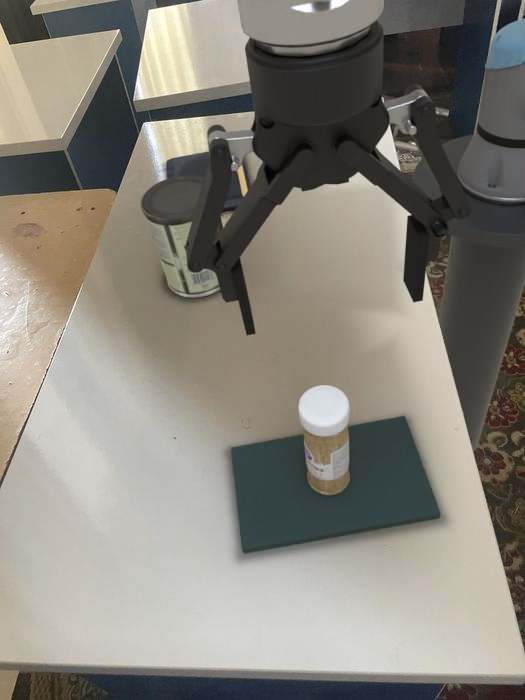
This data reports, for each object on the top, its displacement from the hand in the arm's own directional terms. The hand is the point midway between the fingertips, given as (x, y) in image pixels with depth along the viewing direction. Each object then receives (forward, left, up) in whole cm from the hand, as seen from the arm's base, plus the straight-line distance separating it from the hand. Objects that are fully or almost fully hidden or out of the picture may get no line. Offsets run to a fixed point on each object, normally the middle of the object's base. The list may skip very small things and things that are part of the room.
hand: (330, 307), depth 46 cm
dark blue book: (+11, -59, -23) cm, 65 cm away
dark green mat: (+2, +4, -23) cm, 23 cm away
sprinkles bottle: (+2, +3, -22) cm, 22 cm away
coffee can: (+14, -34, -23) cm, 44 cm away
